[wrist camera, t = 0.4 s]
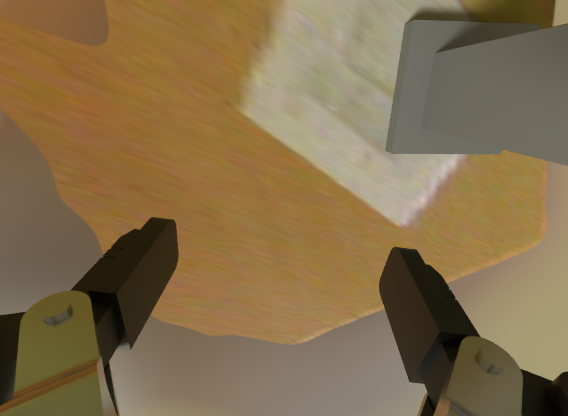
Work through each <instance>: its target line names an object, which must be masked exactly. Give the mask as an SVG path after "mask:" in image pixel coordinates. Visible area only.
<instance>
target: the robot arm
mask: <svg viewBox="0 0 568 416" xmlns="http://www.w3.org/2000/svg"><path fill="white" fill-rule="evenodd" d="M177 262H178V242H177V231H176V223H175V221H174V220H172V219H164V218H155V217H152V218H150V219H149V220H148V221H147V223H146V224H145V225H144V226H143V227H142V228H141V229H140V230H138V229H134V230H132V231H130V232H128V233H127V234H125V235H123V236H121V237H120V238H119V239H118V240H117V241H116V242H115V243H114V244H113V246H112V247H111V249H109V250H108V251H107V252H106V253H105V254H104V255H103V258H100V260H99V261H98V262H97V263H96V264H95V265H94V266H93V267H92V268H91V269H90V270H89V271H88V272H87V273H86V274H85V275H84V277H83V278H82V279H81V280H80V281H79V282H78V283H77V284H76V285H75V286H74V287H73V288H72V289H71V290H70V291H64V292H59V293H55V294H53V295H50V296H48V297H45V298H44V299H42V300H40V301H39V302H37V303H35V304H34V305H33V306H32V307H30V308H29V309H28V310H27V311H26V312H21V313H15V314H7V315H0V416H120V413H119V408H118V402H117V396H116V391H115V385H114V379H113V374H112V369H111V363H110V359H111V357H112V355H113V354H114V352H115V350H116V349H124V350H131V348H132V347H133V345H134V343H135V341H136V339H137V338H138V336H139V334H140V332H141V330H142V328H143V327H144V325H145V323H146V321H147V320H148V318H149V316H150V314H151V312H152V310H153V309H154V307H155V305H156V303H157V301H158V300H159V298H160V296H161V294H162V292H163V291H164V289H165V287H166V285H167V283H168V282H169V280H170V278H171V276H172V274H173V272H174V271H175V269H176V266H177ZM379 291H380V296H381V299H382V302H383V305H384V307H385V310H386V313H387V316H388V319H389V322H390V325H391V328H392V331H393V334H394V337H395V340H396V343H397V346H398V349H399V352H400V355H401V358H402V361H403V364H404V367H405V370H406V373H407V376H408V379H409V382H413V383H422V384H425V387H426V389H427V393H426V394H425V396H424V398H423V401H422V404H421V407H420V409H419V412H418V415H417V416H568V372H563V373H562V374H560V375H559V376H558V377H557V378H556V379H555V380H554V381H551V380H548V379H546V378H543V377H541V376H538V375H535V374H532V373H530V372H528V371H525V370H522V369H520V368H519V366H518V365H517V363H516V362H515V360H514V359H513V358H512V357H511V356H510V355H509V354H508V353H507V352H506V351H505V350H503V349H502V348H500V347H499V346H498V345H496V344H495V343H493V342H491V341H489V340H487V339H484V338H481V337H480V335H479V334H478V332H477V331H476V329H475V328H474V326H473V324H472V323H471V321H470V320H469V318H468V316H467V315H466V314H465V312H464V310H463V309H462V307H461V305H460V304H459V302H458V301H457V300H455V296H454V294H453V293H452V291H451V290H449V287H448V285H447V283H446V282H445V280H444V279H443V277H442V276H441V275H440V274H439V273H438V272H437V271H436V270H435V269H434V268H432V267H431V266H430V265H426V264H425V263H424V261H423V259H422V258H421V256H420V254H419V253H418V251H417V250H415V249H408V248H400V247H394V248H392V250H391V252H390V254H389V257H388V259H387V262H386V265H385V267H384V270H383V272H382V275H381V278H380V282H379Z"/></svg>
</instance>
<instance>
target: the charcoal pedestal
mask: <svg viewBox="0 0 568 416" xmlns="http://www.w3.org/2000/svg"><path fill="white" fill-rule="evenodd" d="M540 25H541V24H528V23H498V22H468V21H438V20H412V21H410V22H408V23H406V24H405V28H404V34H403V41H402V47H401V53H400V60H399V66H398V73H397V79H396V86H395V92H394V99H393V105H392V112H391V118H390V125H389V131H388V137H387V144H386V151H388V152H390V153H392V154H500V153H501V150H502V149H503V150H507V151H511V152H515V153H519V154H523V155H527V156H531V157H535V158H539V159H543V160H547V161H552V162H555V163H559V164H563V165H567V166H568V24H563V25H559V26H554V27H550V28H545V29H541V30H539V28H540Z"/></svg>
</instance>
